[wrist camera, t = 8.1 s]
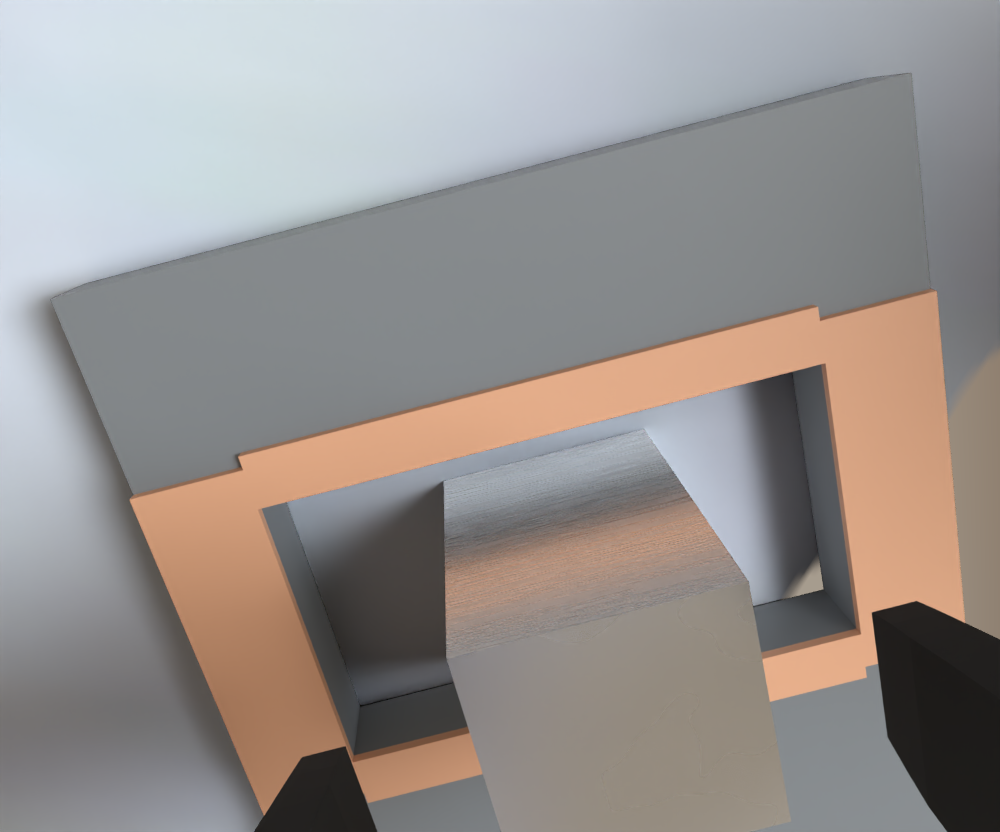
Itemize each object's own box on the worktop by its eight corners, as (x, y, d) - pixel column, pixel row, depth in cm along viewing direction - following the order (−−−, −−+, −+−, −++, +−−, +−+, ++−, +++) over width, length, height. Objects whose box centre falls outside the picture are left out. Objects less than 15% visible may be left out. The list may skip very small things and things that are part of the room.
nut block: (494, 651, 18) (519, 889, 12) (443, 480, 17) (446, 658, 11) (680, 603, 18) (790, 821, 12) (643, 428, 17) (748, 581, 11)
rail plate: (465, 1212, 23) (466, 1292, 22) (86, 283, 15) (44, 301, 14) (971, 1089, 23) (1011, 1160, 22) (866, 77, 15) (917, 72, 13)
